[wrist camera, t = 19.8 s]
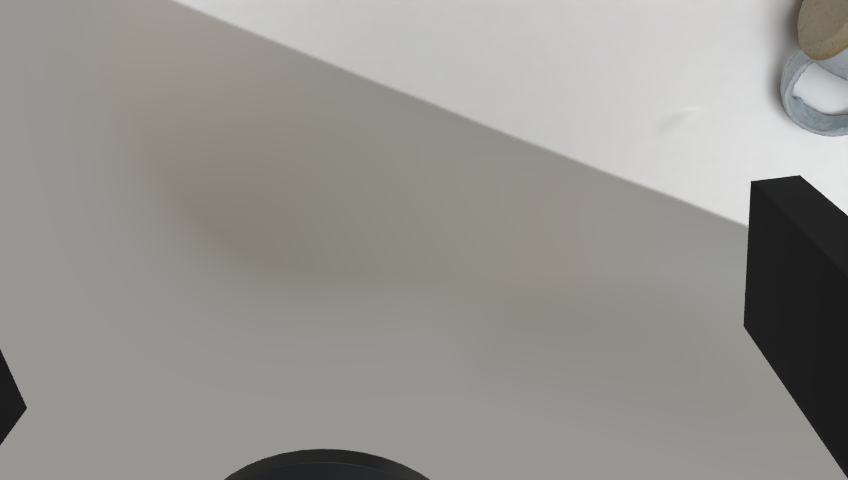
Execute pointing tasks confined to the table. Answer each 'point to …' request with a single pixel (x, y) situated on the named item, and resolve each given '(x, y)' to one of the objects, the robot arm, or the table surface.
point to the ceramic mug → (818, 61)
